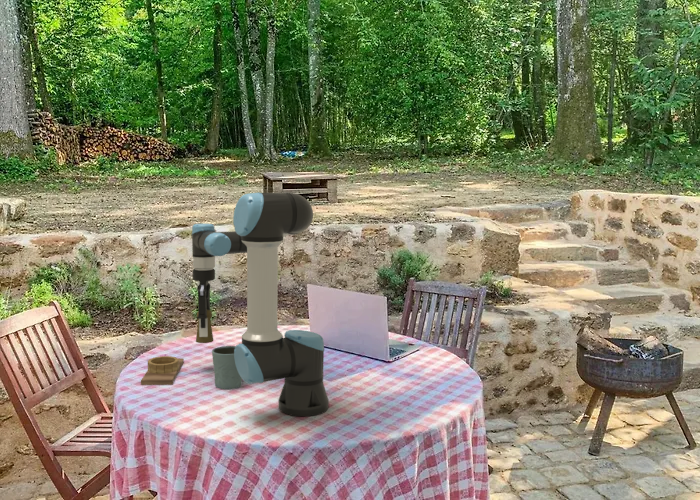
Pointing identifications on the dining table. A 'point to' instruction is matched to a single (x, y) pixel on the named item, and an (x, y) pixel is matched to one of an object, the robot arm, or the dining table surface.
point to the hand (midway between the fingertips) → (204, 334)
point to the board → (162, 370)
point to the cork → (210, 335)
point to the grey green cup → (225, 368)
